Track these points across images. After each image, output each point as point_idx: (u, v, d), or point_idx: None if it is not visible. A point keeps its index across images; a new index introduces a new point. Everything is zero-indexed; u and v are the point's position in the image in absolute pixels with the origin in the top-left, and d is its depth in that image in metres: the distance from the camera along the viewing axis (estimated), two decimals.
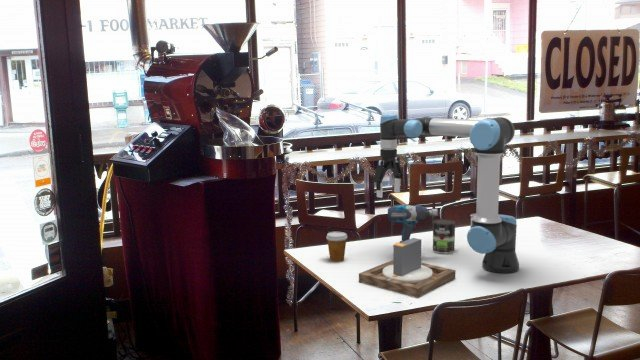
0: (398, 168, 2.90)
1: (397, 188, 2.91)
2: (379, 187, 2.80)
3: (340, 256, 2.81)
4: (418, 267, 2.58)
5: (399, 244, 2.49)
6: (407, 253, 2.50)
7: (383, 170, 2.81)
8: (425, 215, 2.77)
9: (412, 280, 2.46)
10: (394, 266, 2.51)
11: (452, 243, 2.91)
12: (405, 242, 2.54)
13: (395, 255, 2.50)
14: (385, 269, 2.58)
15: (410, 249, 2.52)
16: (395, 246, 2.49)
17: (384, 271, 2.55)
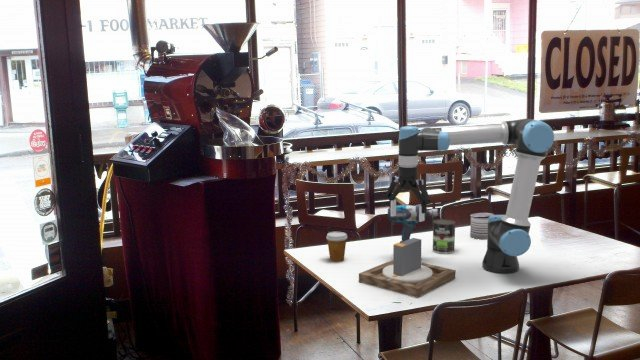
0: None
1: None
2: (390, 204, 2.55)
3: (340, 256, 2.81)
4: (418, 267, 2.58)
5: (399, 244, 2.49)
6: (407, 253, 2.50)
7: None
8: (425, 215, 2.77)
9: (412, 280, 2.46)
10: (394, 266, 2.51)
11: (452, 243, 2.91)
12: (405, 242, 2.54)
13: (395, 255, 2.50)
14: (385, 269, 2.58)
15: (410, 249, 2.52)
16: (395, 246, 2.49)
17: (384, 271, 2.55)
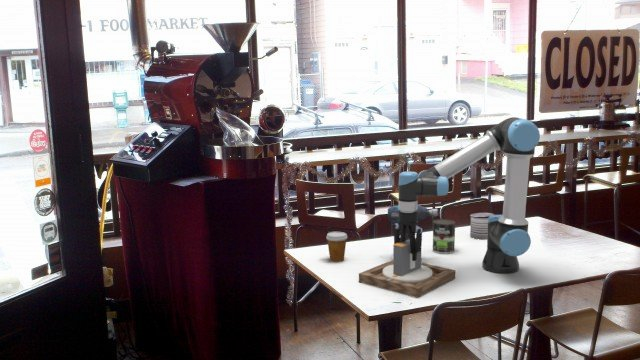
0: None
1: None
2: None
3: (340, 256, 2.81)
4: (418, 267, 2.58)
5: (399, 244, 2.49)
6: (407, 253, 2.50)
7: None
8: (425, 215, 2.77)
9: (412, 280, 2.46)
10: (394, 266, 2.51)
11: (452, 243, 2.91)
12: (405, 242, 2.54)
13: (395, 255, 2.50)
14: (385, 269, 2.58)
15: (410, 249, 2.52)
16: (395, 246, 2.49)
17: (384, 271, 2.55)
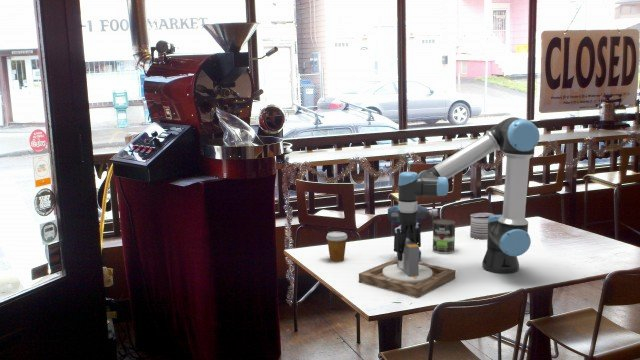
0: (417, 236, 2.56)
1: None
2: (401, 257, 2.52)
3: (340, 256, 2.81)
4: None
5: (412, 245, 2.48)
6: None
7: (402, 237, 2.51)
8: (425, 215, 2.77)
9: (430, 276, 2.50)
10: (409, 268, 2.48)
11: (452, 243, 2.91)
12: (405, 242, 2.53)
13: (411, 257, 2.47)
14: (392, 275, 2.50)
15: None
16: (411, 248, 2.47)
17: (397, 277, 2.48)
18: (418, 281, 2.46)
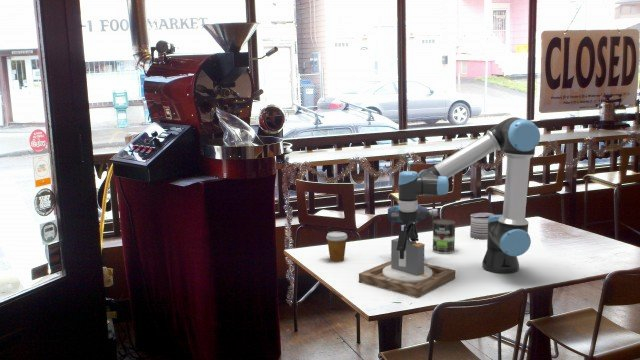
0: None
1: None
2: (403, 255, 2.47)
3: (340, 256, 2.81)
4: None
5: (417, 244, 2.49)
6: None
7: None
8: (425, 215, 2.77)
9: None
10: (418, 268, 2.49)
11: (452, 243, 2.91)
12: None
13: (419, 256, 2.48)
14: (402, 277, 2.47)
15: None
16: (419, 247, 2.48)
17: (408, 278, 2.46)
18: None
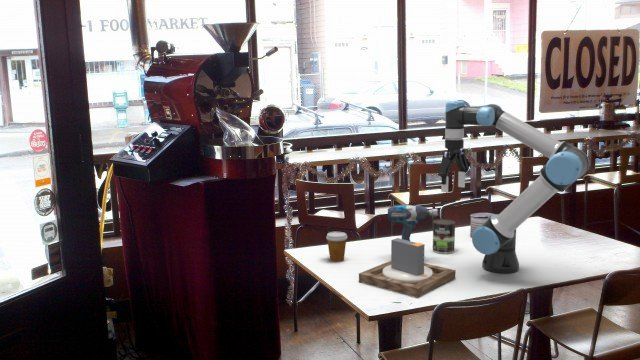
0: (463, 160, 2.65)
1: (462, 182, 2.66)
2: (445, 181, 2.55)
3: (340, 256, 2.81)
4: None
5: (417, 244, 2.49)
6: None
7: (449, 162, 2.57)
8: (425, 215, 2.77)
9: None
10: (418, 268, 2.49)
11: (452, 243, 2.91)
12: (406, 242, 2.53)
13: (419, 256, 2.48)
14: (402, 277, 2.47)
15: None
16: (419, 247, 2.48)
17: (408, 278, 2.46)
18: None
